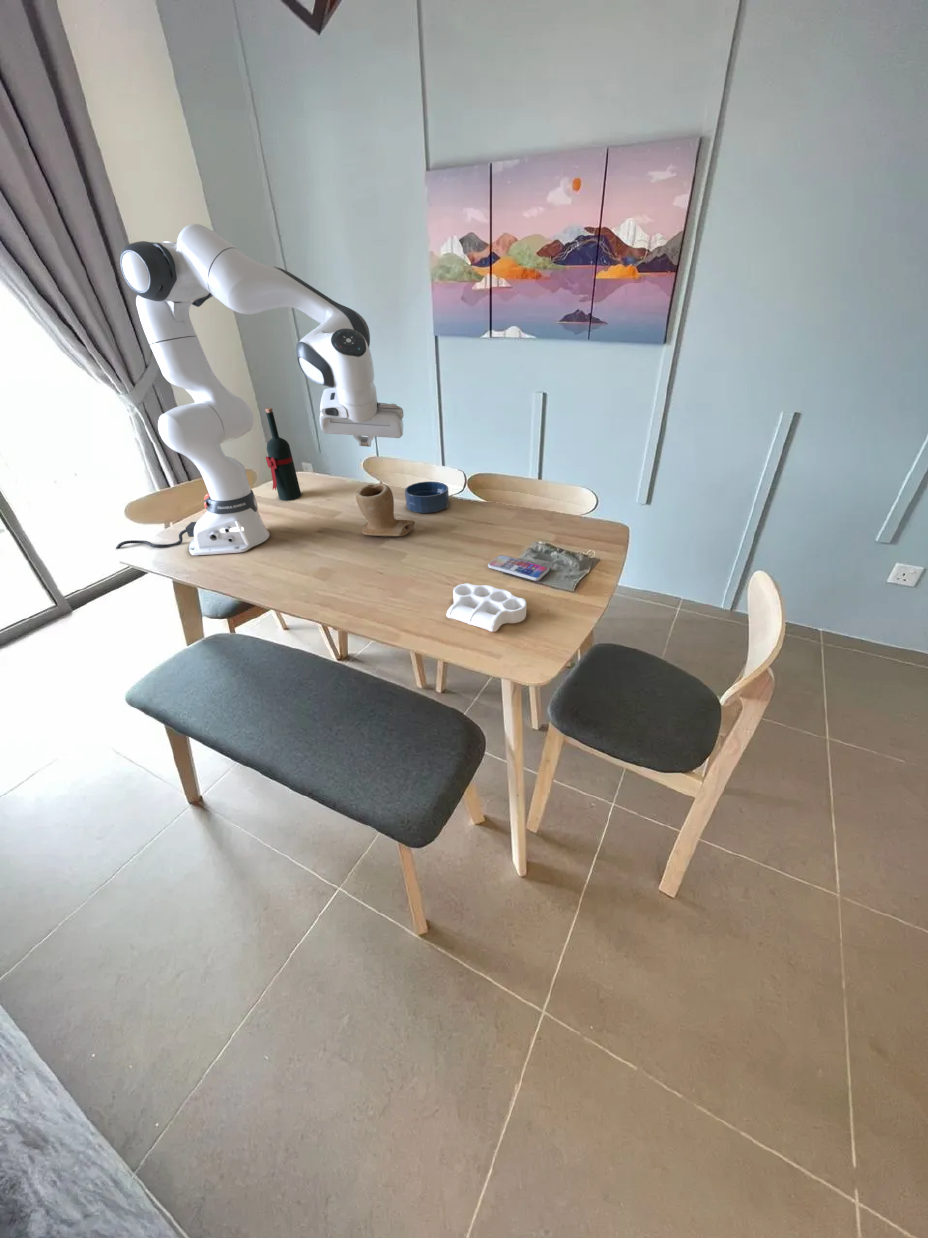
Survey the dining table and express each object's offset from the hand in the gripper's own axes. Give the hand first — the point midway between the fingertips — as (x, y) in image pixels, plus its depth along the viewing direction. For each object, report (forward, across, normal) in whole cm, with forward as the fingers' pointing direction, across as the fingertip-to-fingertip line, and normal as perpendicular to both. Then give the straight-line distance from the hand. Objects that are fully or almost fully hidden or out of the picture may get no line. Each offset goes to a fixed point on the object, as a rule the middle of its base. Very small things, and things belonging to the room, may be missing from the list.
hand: (365, 444), depth 128 cm
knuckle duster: (+1, -32, +46) cm, 56 cm away
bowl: (+36, -16, -8) cm, 40 cm away
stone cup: (+26, -4, +10) cm, 29 cm away
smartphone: (+10, -41, +29) cm, 52 cm away
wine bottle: (+48, +35, -17) cm, 62 cm away
